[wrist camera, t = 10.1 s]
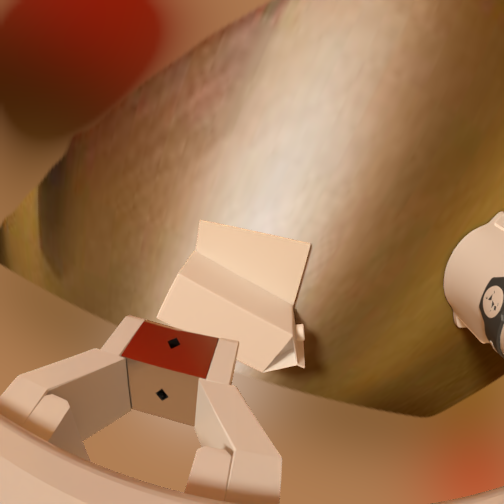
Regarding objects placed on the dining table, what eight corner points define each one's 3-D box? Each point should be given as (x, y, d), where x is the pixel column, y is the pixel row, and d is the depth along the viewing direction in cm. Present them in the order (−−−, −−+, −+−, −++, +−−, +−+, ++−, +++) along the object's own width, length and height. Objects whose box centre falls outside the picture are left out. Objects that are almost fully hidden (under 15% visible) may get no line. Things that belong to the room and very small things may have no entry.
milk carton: (172, 290, 44) (288, 351, 46) (154, 317, 38) (288, 384, 40) (193, 249, 42) (317, 317, 44) (176, 272, 35) (321, 349, 37)
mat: (310, 243, 40) (310, 244, 40) (285, 328, 45) (285, 329, 45) (200, 219, 40) (199, 220, 40) (189, 306, 45) (188, 308, 45)
